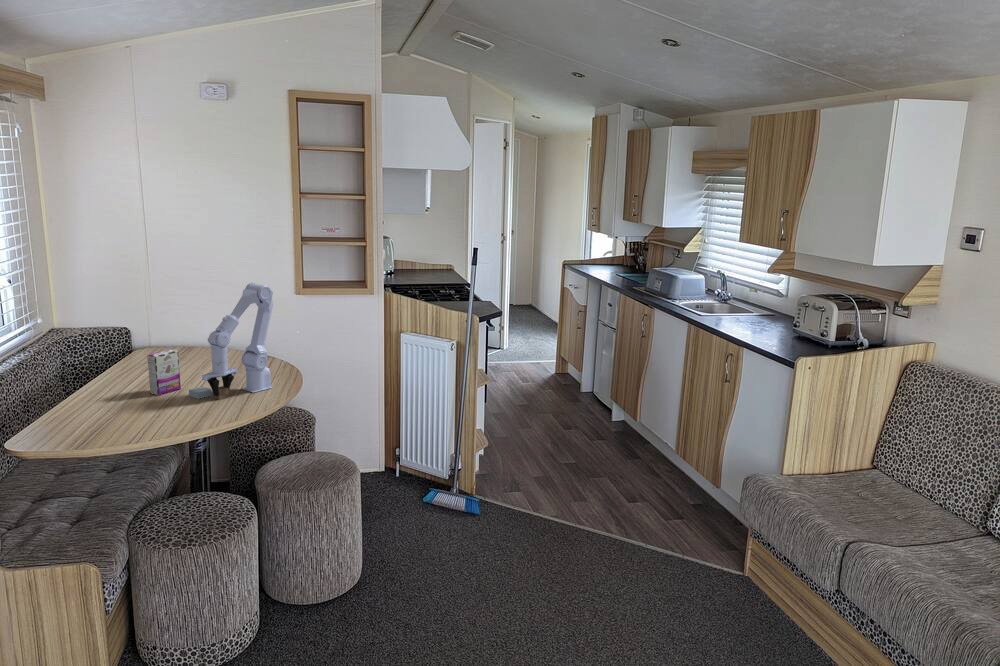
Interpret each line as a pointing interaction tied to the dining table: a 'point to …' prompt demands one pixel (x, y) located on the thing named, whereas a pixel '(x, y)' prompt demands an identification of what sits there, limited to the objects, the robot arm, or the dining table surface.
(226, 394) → the walnut cube
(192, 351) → the dining table surface
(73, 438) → the dining table surface
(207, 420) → the dining table surface
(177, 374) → the candy bar box
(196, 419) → the dining table surface
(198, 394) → the base block
